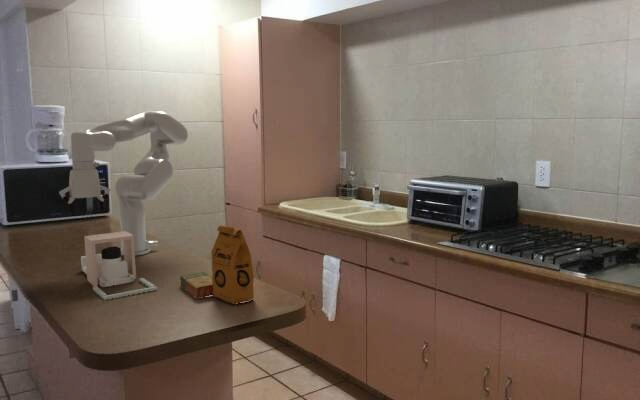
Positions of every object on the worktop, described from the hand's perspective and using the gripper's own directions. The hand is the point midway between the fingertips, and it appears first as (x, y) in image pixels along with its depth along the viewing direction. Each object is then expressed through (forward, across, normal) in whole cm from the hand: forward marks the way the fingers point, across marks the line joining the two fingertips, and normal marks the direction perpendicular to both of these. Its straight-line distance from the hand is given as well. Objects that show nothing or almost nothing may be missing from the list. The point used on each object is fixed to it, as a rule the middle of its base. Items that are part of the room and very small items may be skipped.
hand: (86, 213), depth 206 cm
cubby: (+20, -3, +24) cm, 31 cm away
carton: (+20, -24, +52) cm, 61 cm away
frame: (+20, -4, +38) cm, 43 cm away
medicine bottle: (+20, -3, +27) cm, 34 cm away
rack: (+20, -2, +18) cm, 27 cm away
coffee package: (+20, -29, +66) cm, 75 cm away
